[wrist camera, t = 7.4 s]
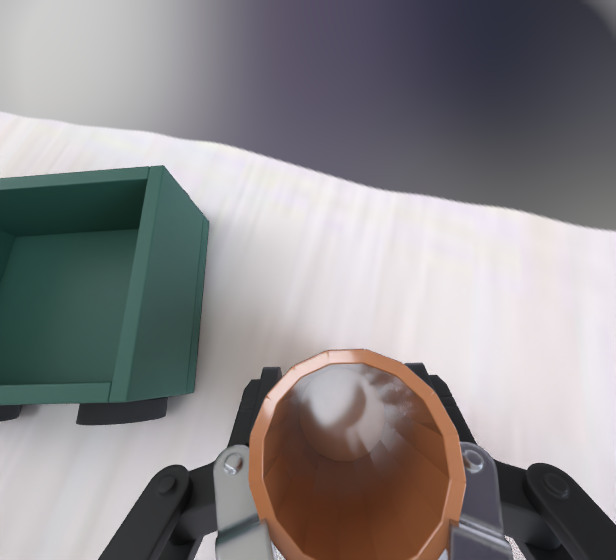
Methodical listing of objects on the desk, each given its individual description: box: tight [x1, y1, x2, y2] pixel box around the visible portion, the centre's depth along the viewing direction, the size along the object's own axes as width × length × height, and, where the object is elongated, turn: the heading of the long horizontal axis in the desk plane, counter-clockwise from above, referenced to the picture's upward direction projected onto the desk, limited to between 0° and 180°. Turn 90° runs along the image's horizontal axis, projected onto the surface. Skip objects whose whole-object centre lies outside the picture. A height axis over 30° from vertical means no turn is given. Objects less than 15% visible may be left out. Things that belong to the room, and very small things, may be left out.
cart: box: [0, 165, 209, 405], centre depth 17 cm, size 15×12×6 cm
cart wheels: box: [0, 193, 189, 425], centre depth 18 cm, size 18×14×4 cm
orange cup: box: [248, 349, 466, 560], centre depth 12 cm, size 5×5×10 cm
